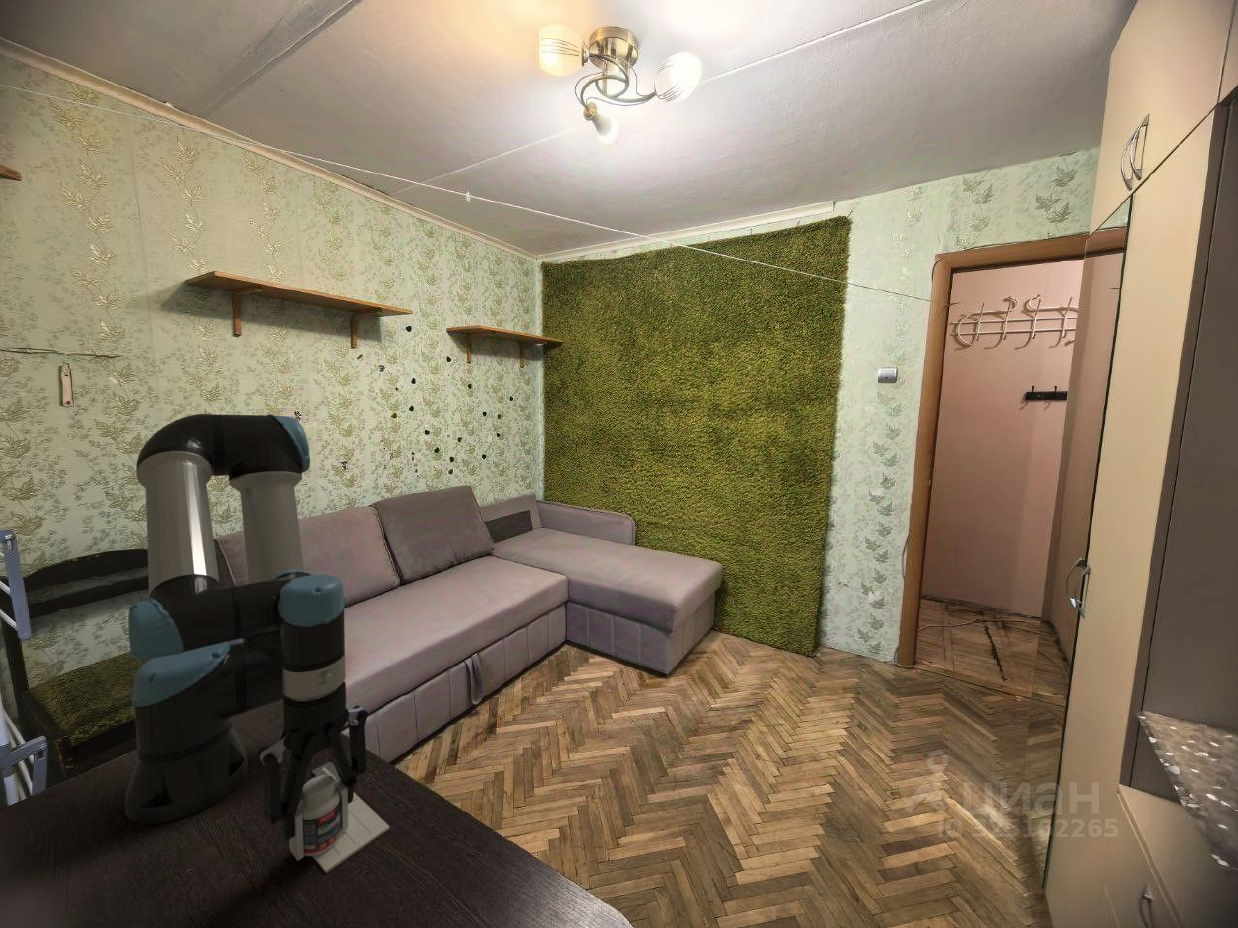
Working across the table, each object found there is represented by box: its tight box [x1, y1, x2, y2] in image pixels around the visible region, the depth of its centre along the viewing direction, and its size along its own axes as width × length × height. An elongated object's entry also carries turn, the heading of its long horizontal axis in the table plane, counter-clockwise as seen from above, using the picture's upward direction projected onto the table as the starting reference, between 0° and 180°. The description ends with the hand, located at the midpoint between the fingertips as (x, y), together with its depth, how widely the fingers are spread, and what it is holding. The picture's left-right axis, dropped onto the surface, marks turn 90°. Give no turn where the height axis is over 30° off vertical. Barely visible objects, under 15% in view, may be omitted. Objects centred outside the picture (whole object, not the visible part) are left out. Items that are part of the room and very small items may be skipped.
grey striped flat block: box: [311, 761, 340, 782], centre depth 84 cm, size 6×3×1 cm, turn 54°
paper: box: [311, 792, 390, 874], centre depth 73 cm, size 11×9×1 cm
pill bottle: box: [297, 775, 341, 857], centre depth 70 cm, size 5×5×9 cm
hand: (319, 838), depth 70 cm, fingers closed on pill bottle, 5 cm apart
